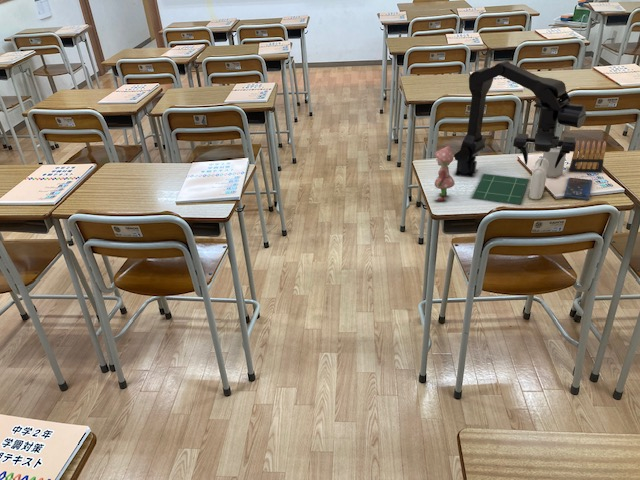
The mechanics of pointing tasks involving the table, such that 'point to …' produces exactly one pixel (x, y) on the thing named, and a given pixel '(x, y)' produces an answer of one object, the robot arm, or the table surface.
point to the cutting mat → (501, 189)
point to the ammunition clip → (588, 158)
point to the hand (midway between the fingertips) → (540, 166)
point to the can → (554, 162)
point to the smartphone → (578, 188)
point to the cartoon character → (444, 171)
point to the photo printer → (538, 178)
